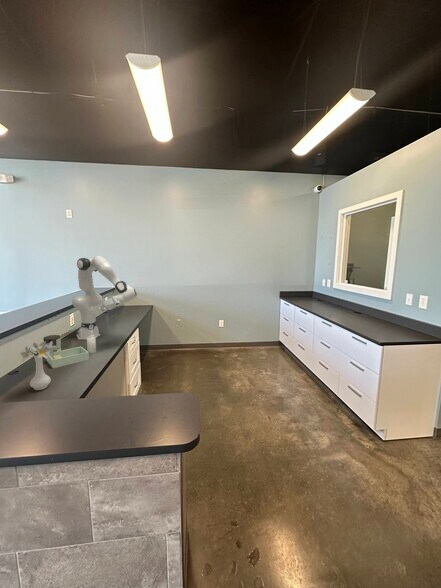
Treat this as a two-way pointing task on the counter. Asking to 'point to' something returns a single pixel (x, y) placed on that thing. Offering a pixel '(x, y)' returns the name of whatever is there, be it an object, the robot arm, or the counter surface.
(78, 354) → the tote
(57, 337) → the coffee can
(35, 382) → the flower vase
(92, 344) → the milk bottle
